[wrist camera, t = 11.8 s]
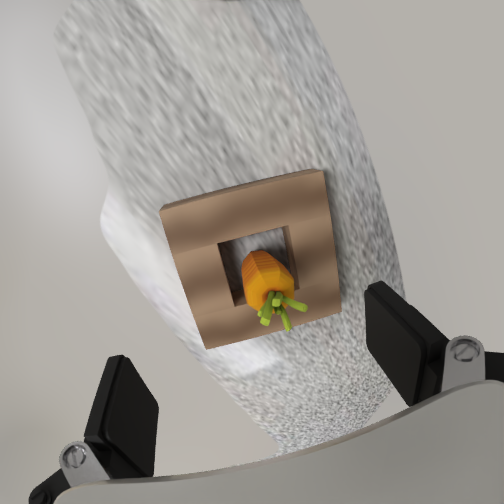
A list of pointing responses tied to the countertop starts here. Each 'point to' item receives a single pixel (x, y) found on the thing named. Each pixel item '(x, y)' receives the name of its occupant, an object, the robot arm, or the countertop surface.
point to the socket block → (246, 223)
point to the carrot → (269, 287)
